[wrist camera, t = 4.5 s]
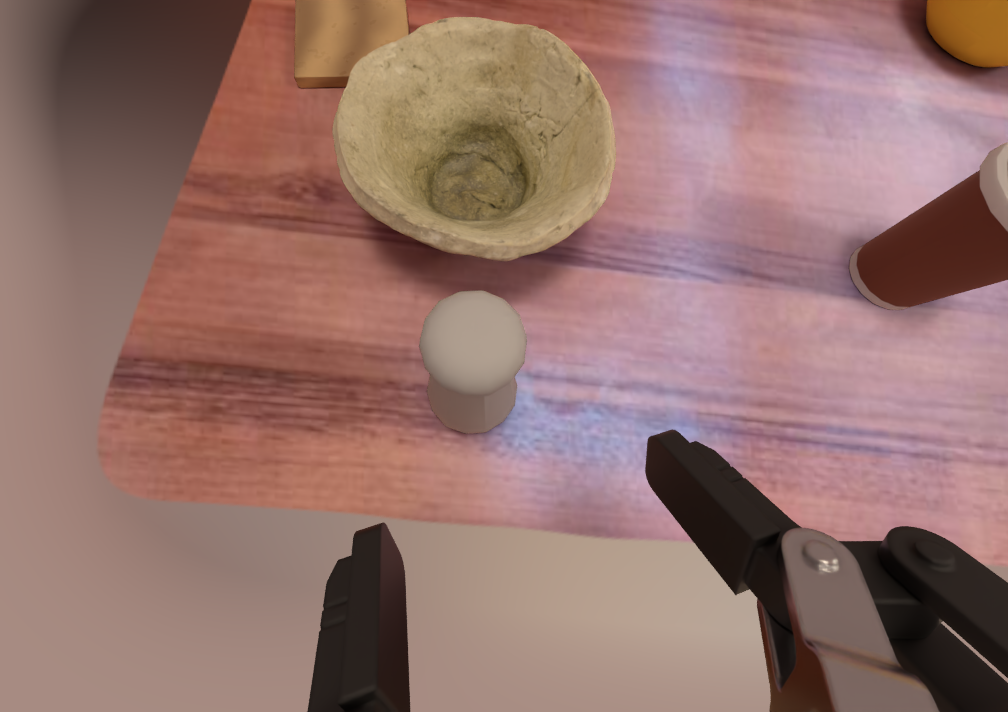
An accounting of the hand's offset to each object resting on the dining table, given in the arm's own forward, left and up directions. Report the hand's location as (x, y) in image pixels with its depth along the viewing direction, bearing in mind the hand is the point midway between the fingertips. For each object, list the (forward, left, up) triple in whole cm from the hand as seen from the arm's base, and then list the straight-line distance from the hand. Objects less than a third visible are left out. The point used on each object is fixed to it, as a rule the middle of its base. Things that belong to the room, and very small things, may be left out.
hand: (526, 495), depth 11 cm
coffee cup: (+36, +12, -15) cm, 41 cm away
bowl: (+1, +22, -15) cm, 26 cm away
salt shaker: (-1, +6, -15) cm, 16 cm away
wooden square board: (-8, +40, -15) cm, 43 cm away
